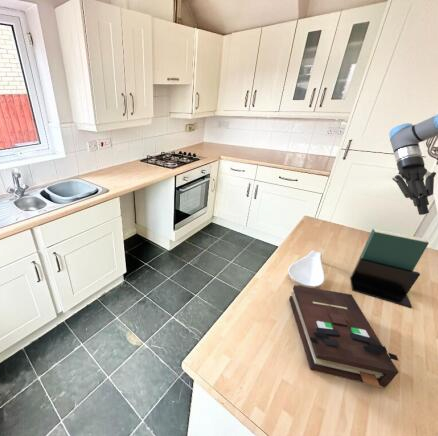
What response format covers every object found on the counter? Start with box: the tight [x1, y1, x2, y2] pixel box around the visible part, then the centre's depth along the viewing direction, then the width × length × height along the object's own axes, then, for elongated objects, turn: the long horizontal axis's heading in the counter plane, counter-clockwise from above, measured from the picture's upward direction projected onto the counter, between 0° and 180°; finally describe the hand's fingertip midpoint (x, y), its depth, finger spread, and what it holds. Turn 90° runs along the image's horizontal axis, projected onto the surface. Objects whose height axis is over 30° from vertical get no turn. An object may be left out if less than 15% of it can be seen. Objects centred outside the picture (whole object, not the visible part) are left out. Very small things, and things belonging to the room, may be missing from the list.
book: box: [356, 228, 429, 271], centre depth 88 cm, size 14×20×3 cm
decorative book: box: [288, 284, 400, 388], centre depth 71 cm, size 19×8×30 cm
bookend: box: [349, 257, 421, 309], centre depth 86 cm, size 16×8×10 cm, turn 59°
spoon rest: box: [287, 249, 325, 289], centre depth 96 cm, size 24×12×7 cm, turn 138°
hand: (424, 213), depth 95 cm, fingers closed
